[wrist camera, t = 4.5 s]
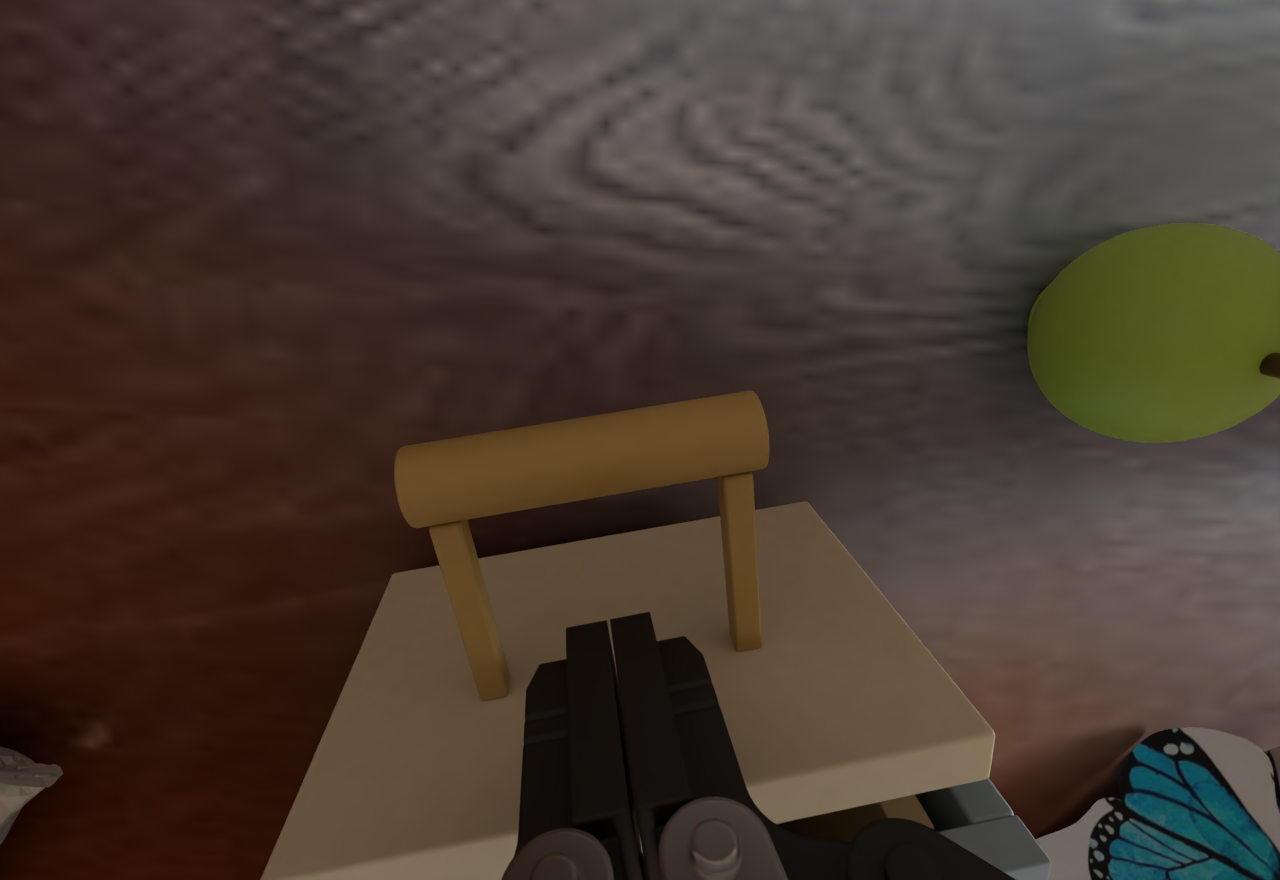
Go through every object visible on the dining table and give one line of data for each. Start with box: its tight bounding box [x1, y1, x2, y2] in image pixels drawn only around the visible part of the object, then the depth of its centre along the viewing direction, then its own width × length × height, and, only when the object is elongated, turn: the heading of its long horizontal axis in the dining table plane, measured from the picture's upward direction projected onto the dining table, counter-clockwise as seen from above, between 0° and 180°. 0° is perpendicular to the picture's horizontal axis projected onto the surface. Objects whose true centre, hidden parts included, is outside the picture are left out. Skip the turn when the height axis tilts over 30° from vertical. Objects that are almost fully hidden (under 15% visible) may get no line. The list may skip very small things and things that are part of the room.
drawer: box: [261, 391, 995, 880], centre depth 16 cm, size 21×13×9 cm, turn 7°
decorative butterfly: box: [1035, 727, 1280, 880], centre depth 26 cm, size 10×6×10 cm
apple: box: [1027, 222, 1280, 443], centre depth 15 cm, size 6×6×7 cm
